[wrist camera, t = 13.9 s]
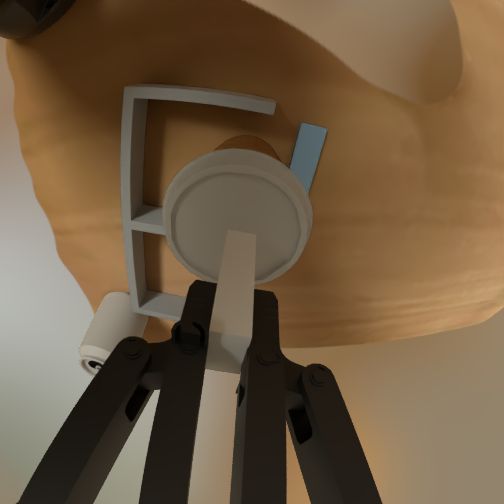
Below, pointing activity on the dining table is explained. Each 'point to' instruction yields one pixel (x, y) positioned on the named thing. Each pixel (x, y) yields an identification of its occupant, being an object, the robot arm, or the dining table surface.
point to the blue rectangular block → (307, 152)
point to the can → (109, 330)
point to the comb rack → (131, 173)
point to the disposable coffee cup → (237, 209)
